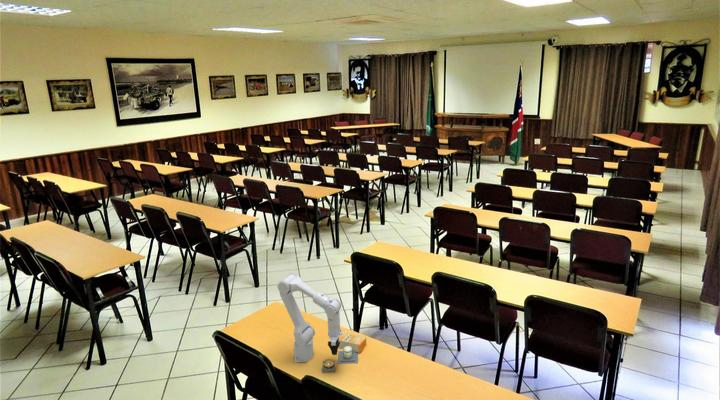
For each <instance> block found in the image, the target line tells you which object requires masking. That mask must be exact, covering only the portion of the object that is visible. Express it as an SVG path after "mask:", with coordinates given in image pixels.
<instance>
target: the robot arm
mask: <svg viewBox="0 0 720 400" xmlns="http://www.w3.org/2000/svg"><path fill="white" fill-rule="evenodd" d="M277 290H278V292H279V296H280V298H281V300H282V302H283V303H282V304H284V307H285V309H286V311H287V313H288V315H289V318H290V319H291V321H292V325H293V326H294V330H293V336H294V343H293V356H294V357H293V358H294V363H308V361H310V360H311V359H313V357H314V343H313V341H314V336H315V335H316V331H315V329H314V328H313V327H312V325H311V323H310V322H307V321H306V320H305V319H304V316H303V314H302V312H301V310H300V308H299V306H298V304H297V302H296V299H295V297H294V295H293V293H294V292H300V293H301V294H304V295H305V296H307V297H309V298H311V299H312V302H313V303H314V304H316V305H317V306H319V307H320V308H322V309H323V310H324V313H325V315H326V318H327V335H328V336H327V337H328V338H329V341H327V346H328V347H329V349H330V351H331V355H332V356H338V351H339V350H338V349H339V348H338V347H339V345H340V342H338V341H339V337H340V336H342V335H343V334H344V332H343V331H342V329H341V317H340V310H341V309H342V303H341V301H340V300H339V299H337V298H330V297H329V296H327V295H326V294H324V292H321V291H315V290H314V289H313V288H312V287H310V286H309V285H308V284H307V283H305V282H303V281H302V278H301V276H299V275H297V274H296V273H293V272H292V273H289V275H287V276H286V277H285V278H283V279H282V280H280V281H279V283H278V284H277Z"/></svg>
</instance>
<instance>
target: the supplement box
mask: <svg viewBox="0 0 720 400" xmlns="http://www.w3.org/2000/svg"><path fill="white" fill-rule="evenodd" d="M338 342H340V345H339V347H338V349H341V350H344V347H346V346H350V347H351V348H352V351H354V352H358V354H360V353H362V351H363V350H364V349H365V348H366V346H367V337H366V336H365V337H363V336H359V335H355V334H351V333H350V334H349V333H346V332H343V335H340V337H339V341H338Z"/></svg>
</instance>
